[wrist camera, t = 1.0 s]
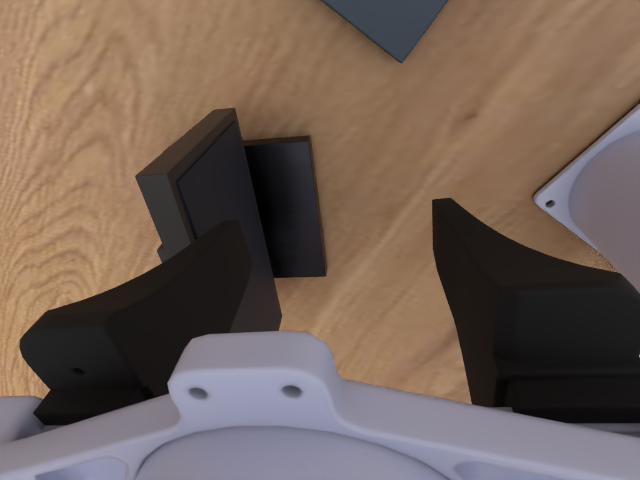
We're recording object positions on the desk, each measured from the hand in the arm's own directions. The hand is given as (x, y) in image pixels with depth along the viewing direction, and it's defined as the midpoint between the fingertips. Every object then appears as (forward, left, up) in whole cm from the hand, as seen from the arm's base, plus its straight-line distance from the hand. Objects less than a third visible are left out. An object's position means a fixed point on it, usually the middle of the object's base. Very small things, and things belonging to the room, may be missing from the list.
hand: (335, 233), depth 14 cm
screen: (+2, +8, -8) cm, 11 cm away
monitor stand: (+2, +7, -10) cm, 13 cm away
